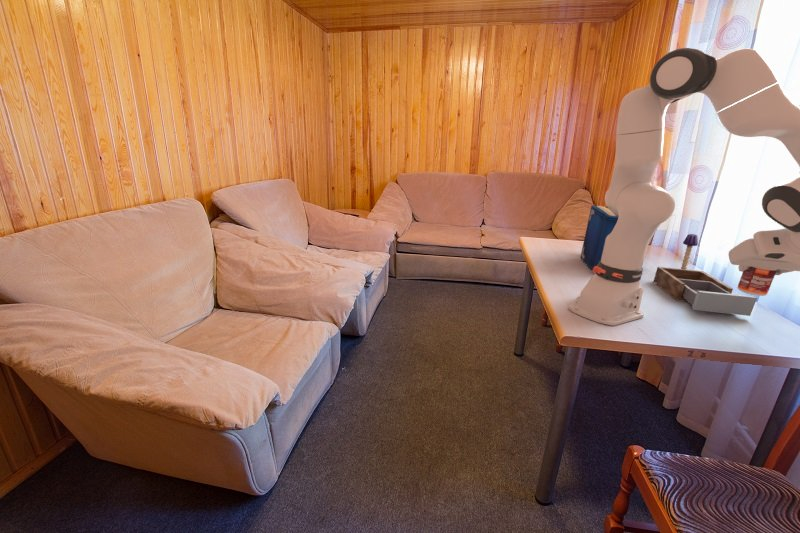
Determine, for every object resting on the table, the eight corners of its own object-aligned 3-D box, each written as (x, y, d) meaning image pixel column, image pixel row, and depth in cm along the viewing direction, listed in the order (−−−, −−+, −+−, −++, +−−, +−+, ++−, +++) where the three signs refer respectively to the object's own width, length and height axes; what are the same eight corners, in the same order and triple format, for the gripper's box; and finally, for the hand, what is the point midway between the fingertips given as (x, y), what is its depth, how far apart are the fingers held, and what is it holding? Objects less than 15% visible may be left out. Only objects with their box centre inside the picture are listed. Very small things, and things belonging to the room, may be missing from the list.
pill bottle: (747, 295, 97) (763, 255, 94) (731, 287, 103) (745, 249, 99) (772, 297, 97) (789, 257, 93) (754, 288, 102) (769, 250, 99)
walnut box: (727, 305, 120) (733, 288, 118) (676, 300, 123) (681, 283, 121) (697, 285, 136) (702, 271, 134) (653, 281, 139) (657, 266, 137)
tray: (750, 315, 109) (757, 297, 108) (694, 309, 112) (699, 292, 110) (713, 292, 127) (719, 276, 125) (665, 287, 130) (670, 271, 128)
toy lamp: (683, 276, 146) (695, 236, 141) (671, 272, 150) (683, 233, 145) (690, 275, 148) (703, 235, 143) (678, 271, 152) (690, 232, 147)
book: (612, 277, 142) (628, 214, 134) (593, 275, 144) (607, 213, 136) (596, 260, 163) (608, 205, 154) (579, 259, 164) (590, 204, 156)
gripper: (849, 238, 86) (799, 265, 98) (749, 230, 90) (713, 256, 102) (858, 262, 83) (806, 286, 95) (755, 252, 87) (717, 276, 99)
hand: (757, 271), depth 99 cm, fingers closed on pill bottle, 6 cm apart
